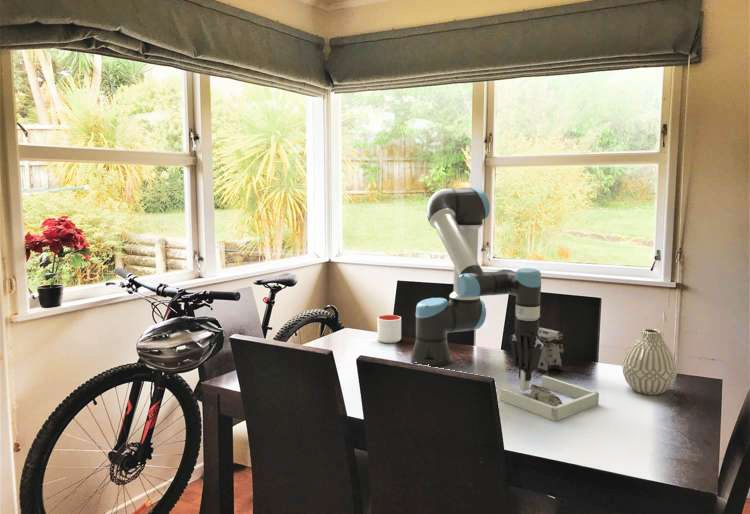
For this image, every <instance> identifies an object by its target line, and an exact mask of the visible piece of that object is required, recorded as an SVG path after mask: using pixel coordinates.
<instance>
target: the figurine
mask: <svg viewBox="0 0 750 514" xmlns="http://www.w3.org/2000/svg"><path fill="white" fill-rule="evenodd" d="M538 336H539V340H541V343H545V346H544V348H543V349H542V352H541V356H540V360H539V364H538V368H537V370H536V372H537V373H542V374H544V375H547V374H549V366H550V368H551V369H556V370H558V371H559V370H562V369H563V365H562V358H561V354H564V353H565V352H564V345H563V343H561V342H560V341H559V340H561V339H563V336H564V335H563V333H561V332H560V331H559V330H553V329H552V328H551V327H550V328H544V327H540V326H539V331H538ZM553 340H558V341H557V342H556V343H554V342H552V341H553ZM558 343H560V344H558Z"/></svg>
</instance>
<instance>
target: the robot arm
mask: <svg viewBox="0 0 750 514" xmlns="http://www.w3.org/2000/svg"><path fill="white" fill-rule="evenodd" d="M490 209H491V207H490V200H489V198H488V195H487V193H486V192H485V191H484V190H482V189H481V188H476V187H475V188H474V187H463V188H462V187H461V188H459V187H458V188H441V189H439V190H437V191H435V193H433V194H432V196H431V197H430V198H429V200H428V202H427V207H426V217H427V221H428V222H429V225H430V226H431V227H432V228H433V229H435V230H436V233H437V234H438V236H439V238H440V240H441V242H442V244H443V246H444V248H445V250H446V252H447V254H448V256H449V258H450V260H451V263H452V264H453V290H452V292H450V294H449V295H448V296H449V300H448V299H446V298H444V297H430V298H426V299H422V300H421V301H419V302H417V304H416V306H415V307H416V308H415V343H414V345H413V348H412V352H411V355H410V361H411V360H412V361H413V362H417V364H422V365H428V364H429V366H434V367H433V368H436V367H437V368H438V367H443V366H442V365H445V366H447V365H446V364H448V365H450V364H451V363H452V354H451V352H450V347H449V344H448V333H455V332H456V333H457V332H466V331H467V332H471V331H474V330H478V329H480V328H481V327H482V326H483V325H484V324H485V321H486V318H487V308H486V304H485V303H484V301H483V300H482V299H481V297H484V296H486V297H487V296H499V295H511V296H514V297H515V307H514V308H515V312H514V313H515V314H514V315H515V318H514V330H515V332H514V334H512V335H509V336H508V337H507V338H508V340H509V343H510V348H511V355H512V360H513V361H512V362H513V366H515V367H517V368H518V378H519V380H520V383H519V390H520V391H522V392H526V391H528V390H530V382H531V381H532V372H534V371H537V368H538V364H539V360H540V356H541V352H542V349H543V348H544V346H545V343H546V342H545V343H544V342H542V340H541V339H539V336H538V331H539V327H540V319H539V318H540V317H541V296H542V295H541V293H542V291H541V290H542V273H541V271H540V270H538V269H535V268H519V269H517V271H513V270H511V269H506V268H505V269H504V268H501V269H499V270H497V271H492V272H490V271H489V272H488V271H487V272H484V271H483V269H482V267H481V265H480V263H479V262H478V256H479V255H478V250H479V249H478V248H479V229H480V228H481V227H482V226H483V221H484V220H485V219H487V218H488V217H489V214H490ZM412 361H411V362H412ZM413 362H412V363H413ZM450 362H451V363H450ZM449 363H450V364H449ZM417 364H416V365H417Z"/></svg>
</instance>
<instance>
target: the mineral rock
mask: <svg viewBox="0 0 750 514" xmlns="http://www.w3.org/2000/svg"><path fill="white" fill-rule="evenodd" d="M529 390H531V391H530V394H529V395H530V397H529V398H532V399H534V400H537V401H540V402H543V403H545V404H548V405H551V406H554V407H555V406H558V405H561V404H563V402H562V400H561V399H560V397H558V396H557V395H556V394H554V393H552V392H551V390H550V391H549V389H547V388H544V387H541V385H540V386H539V385H538V384H537V385H536V384H531V385H530V387H529Z"/></svg>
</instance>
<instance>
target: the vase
mask: <svg viewBox="0 0 750 514" xmlns="http://www.w3.org/2000/svg"><path fill="white" fill-rule="evenodd" d="M677 372H678V371H677V364H676V359H675V357H674V354H673V353H672V351H671V349H670V348H669V346H668V345H667V344H666V342H665V341H664V339H663V336H662V332H661V330H658V329H655V328H644V329H642V330H641V332H640V335H639V336H638V338H637V339H636V340H635V341H634V342H633V343H632V344H631V346H630V347H629V348H628V350H627V351H626V353H625V355H624V358H623V362H622V374H623V377H624V379H625V381H626V383H627V385H628V387H630V388H631V389H632V390H634V391H635V392H637V393H639V394H643V395H647V396H658V395H662V394H663V393H665V392H667V391H668V390H670V389H671V387H672V386H673V384H674V383H675V381H676V378H677Z"/></svg>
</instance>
